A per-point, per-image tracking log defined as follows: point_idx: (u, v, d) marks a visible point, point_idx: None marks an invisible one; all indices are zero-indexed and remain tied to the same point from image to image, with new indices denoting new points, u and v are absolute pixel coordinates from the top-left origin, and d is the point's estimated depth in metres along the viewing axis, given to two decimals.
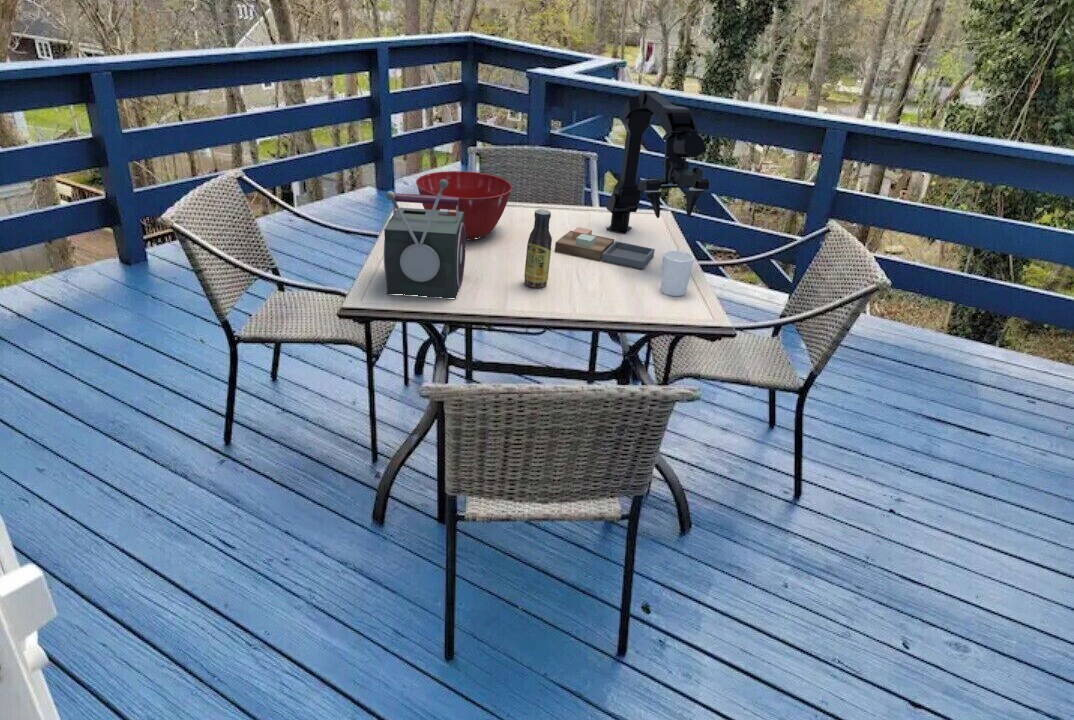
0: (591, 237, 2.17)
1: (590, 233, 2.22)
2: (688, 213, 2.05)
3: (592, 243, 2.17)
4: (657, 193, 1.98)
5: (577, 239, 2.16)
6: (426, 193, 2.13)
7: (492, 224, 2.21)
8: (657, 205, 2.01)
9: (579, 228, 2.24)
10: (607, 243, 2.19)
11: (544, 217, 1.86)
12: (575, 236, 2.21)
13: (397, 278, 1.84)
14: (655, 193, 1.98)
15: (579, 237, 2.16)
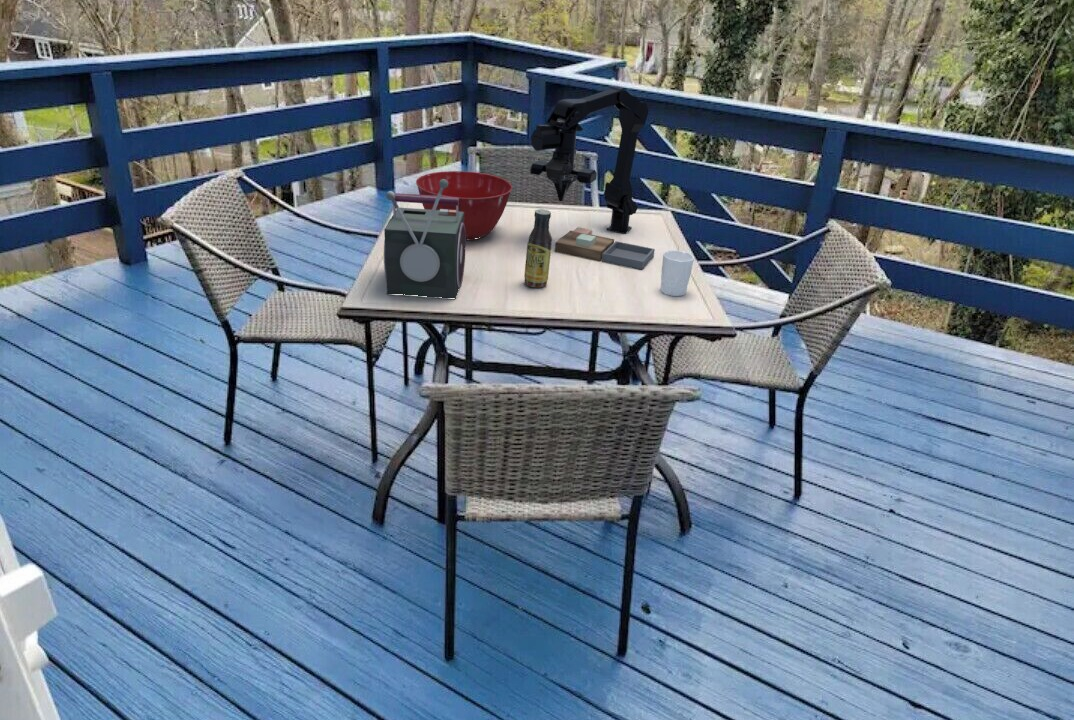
0: (591, 237, 2.17)
1: (590, 233, 2.22)
2: None
3: (592, 243, 2.17)
4: (553, 179, 2.16)
5: (577, 239, 2.16)
6: (426, 193, 2.13)
7: (492, 224, 2.21)
8: (557, 190, 2.19)
9: (579, 228, 2.24)
10: (607, 243, 2.19)
11: (544, 217, 1.86)
12: (575, 236, 2.21)
13: (397, 278, 1.84)
14: (551, 179, 2.16)
15: (579, 237, 2.16)
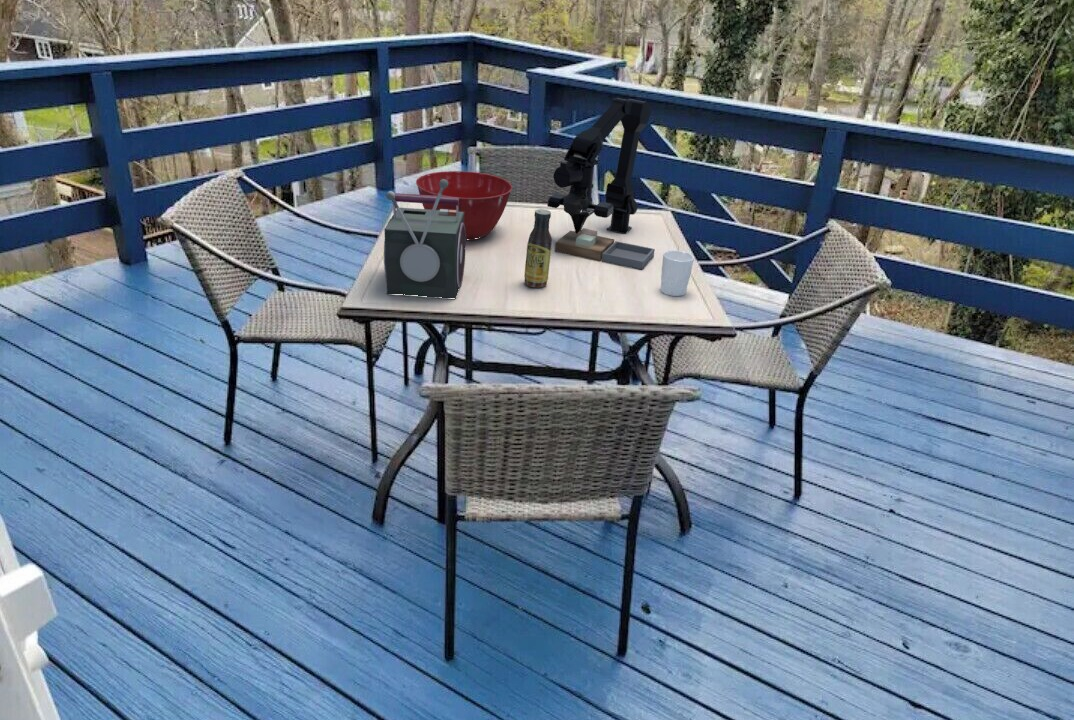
0: (591, 237, 2.17)
1: (595, 234, 2.22)
2: None
3: (592, 243, 2.17)
4: (570, 213, 2.18)
5: (577, 239, 2.16)
6: (426, 193, 2.13)
7: (492, 224, 2.21)
8: (574, 223, 2.21)
9: (585, 229, 2.23)
10: (607, 243, 2.19)
11: (544, 216, 1.86)
12: None
13: (397, 277, 1.83)
14: (568, 212, 2.18)
15: (579, 237, 2.16)
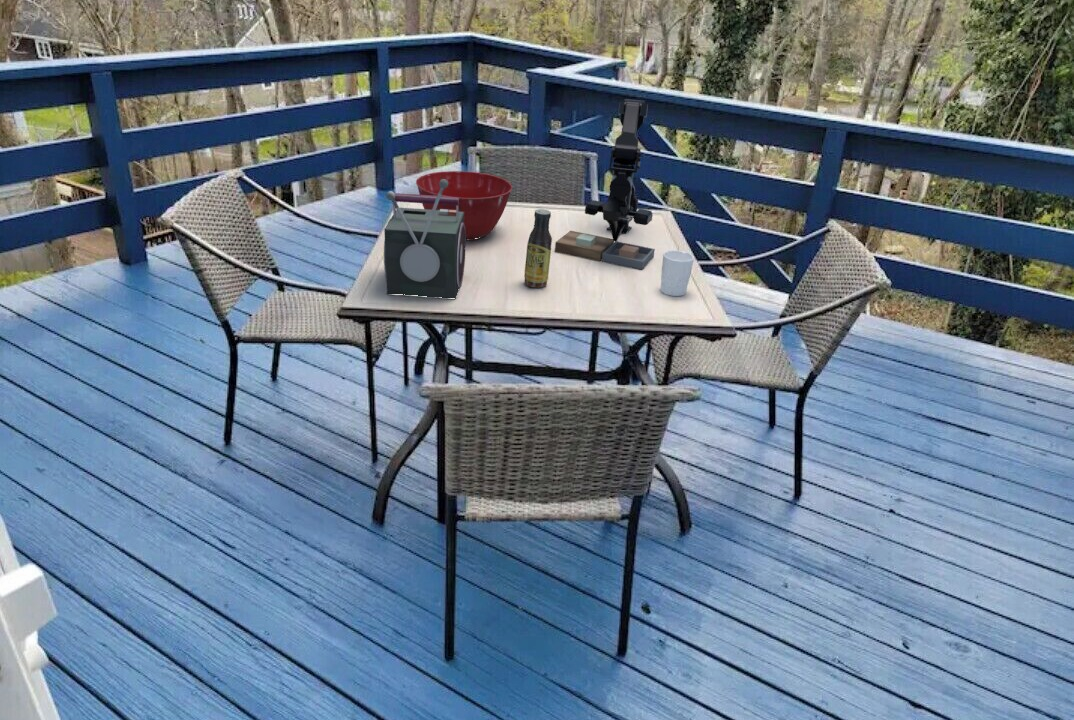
0: (591, 237, 2.17)
1: None
2: None
3: (592, 243, 2.17)
4: (608, 220, 2.14)
5: (577, 239, 2.16)
6: (426, 193, 2.13)
7: (492, 224, 2.21)
8: (612, 230, 2.17)
9: None
10: (607, 243, 2.19)
11: (544, 216, 1.86)
12: (630, 253, 2.16)
13: (397, 277, 1.83)
14: (606, 220, 2.15)
15: (579, 237, 2.16)
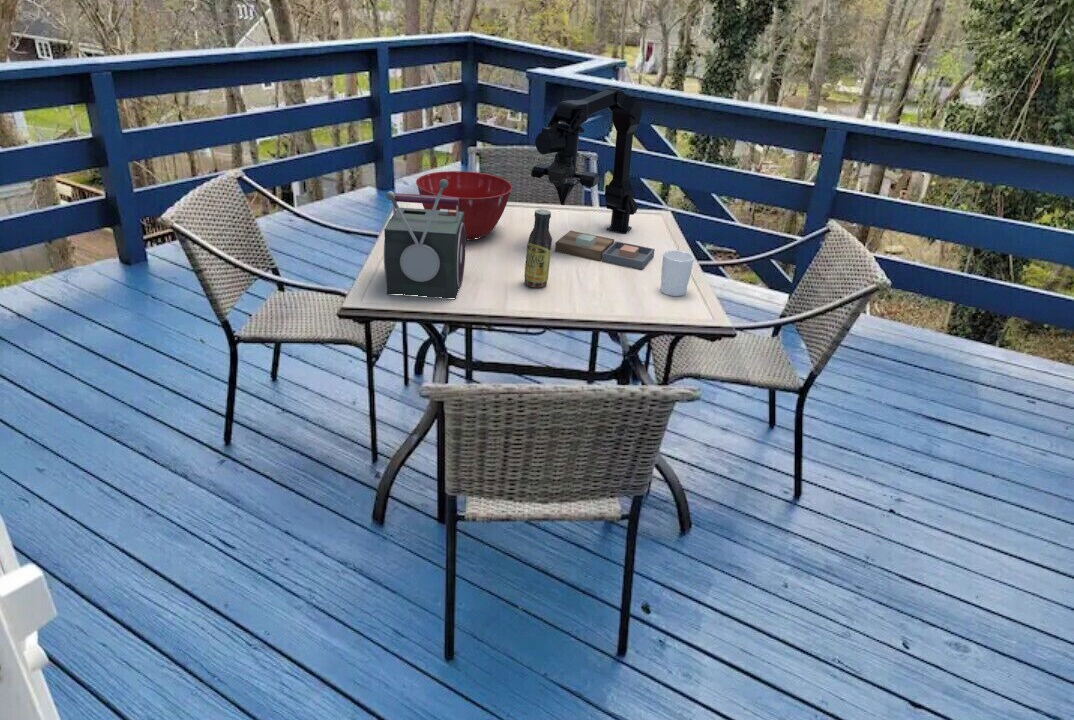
0: (591, 237, 2.17)
1: None
2: None
3: (592, 243, 2.17)
4: (554, 183, 2.11)
5: (577, 239, 2.16)
6: (426, 193, 2.13)
7: (492, 224, 2.21)
8: (559, 193, 2.13)
9: None
10: (607, 243, 2.19)
11: (544, 217, 1.86)
12: (630, 253, 2.16)
13: (397, 278, 1.84)
14: (553, 182, 2.11)
15: (579, 237, 2.16)
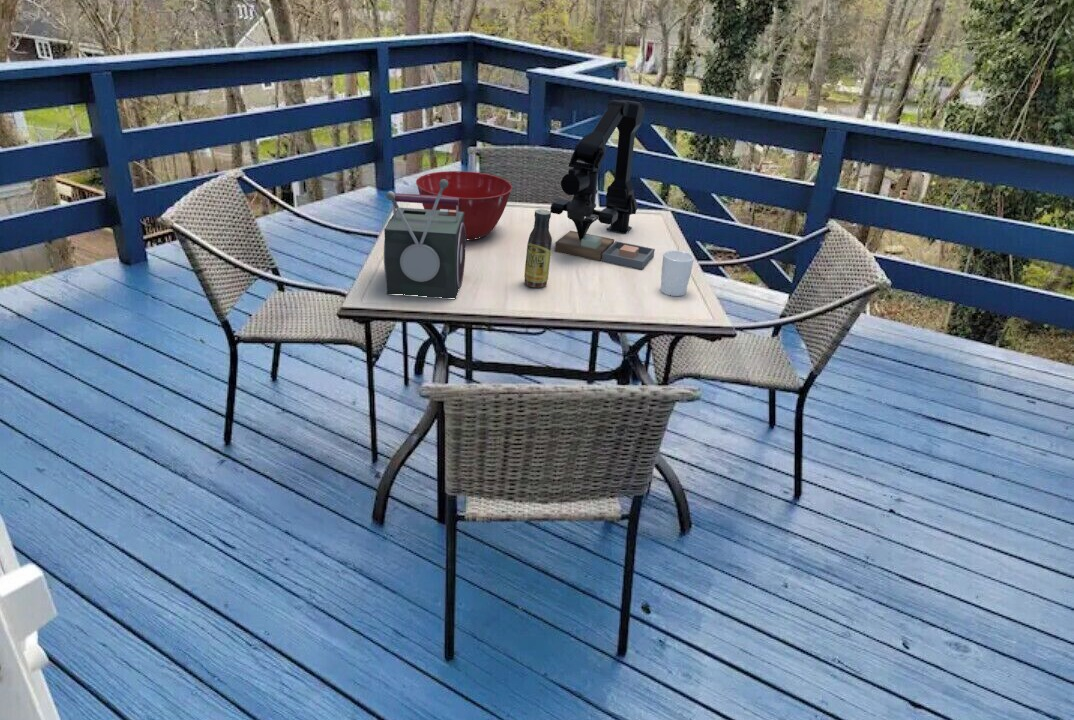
0: (597, 238, 2.16)
1: None
2: None
3: (598, 244, 2.16)
4: (573, 219, 2.13)
5: (582, 240, 2.15)
6: (426, 193, 2.13)
7: (492, 224, 2.21)
8: (577, 229, 2.16)
9: None
10: (607, 243, 2.19)
11: (544, 216, 1.86)
12: (630, 253, 2.16)
13: (397, 278, 1.83)
14: (572, 219, 2.13)
15: (584, 238, 2.16)
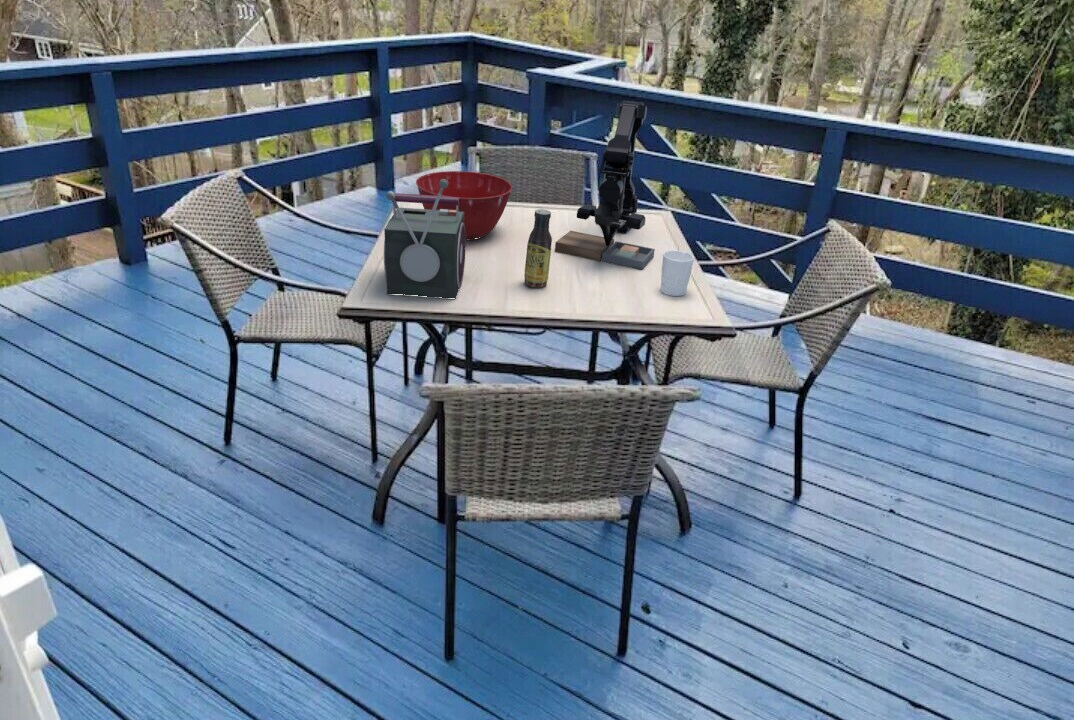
0: None
1: None
2: None
3: None
4: (600, 224, 2.11)
5: None
6: (426, 193, 2.13)
7: (492, 224, 2.21)
8: (604, 234, 2.13)
9: None
10: None
11: (544, 217, 1.86)
12: None
13: (397, 278, 1.84)
14: (598, 224, 2.11)
15: None
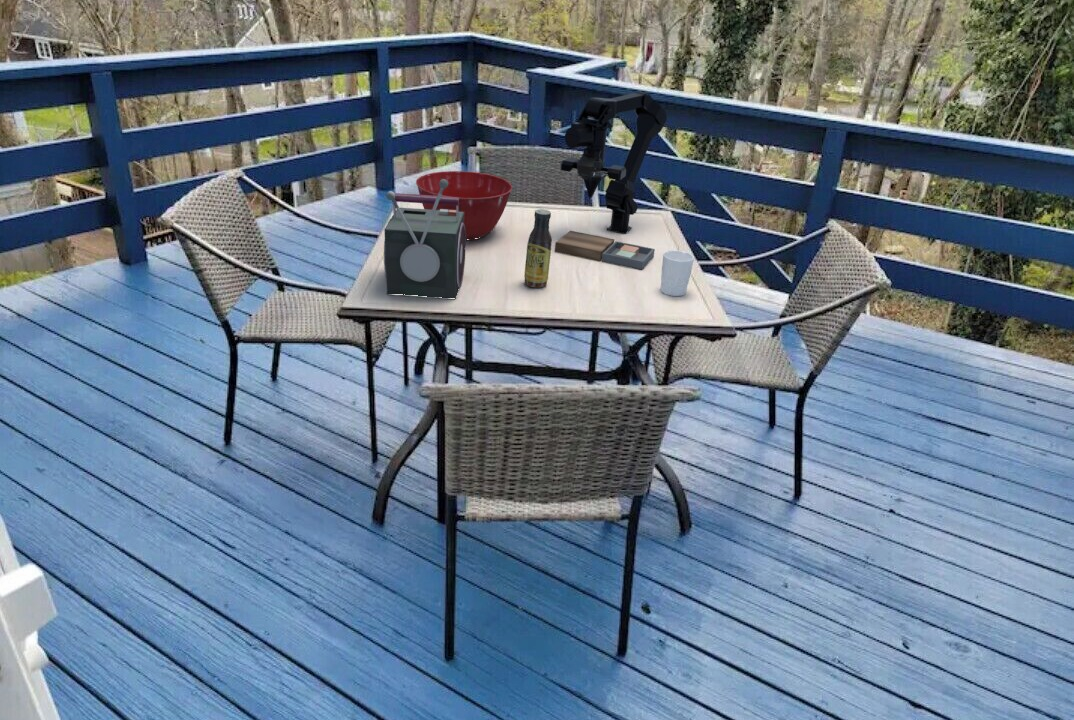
0: None
1: None
2: None
3: None
4: (583, 176, 2.20)
5: None
6: (426, 193, 2.13)
7: (492, 224, 2.21)
8: (587, 186, 2.22)
9: None
10: (607, 243, 2.19)
11: (544, 217, 1.86)
12: None
13: (397, 277, 1.83)
14: (581, 176, 2.20)
15: None
